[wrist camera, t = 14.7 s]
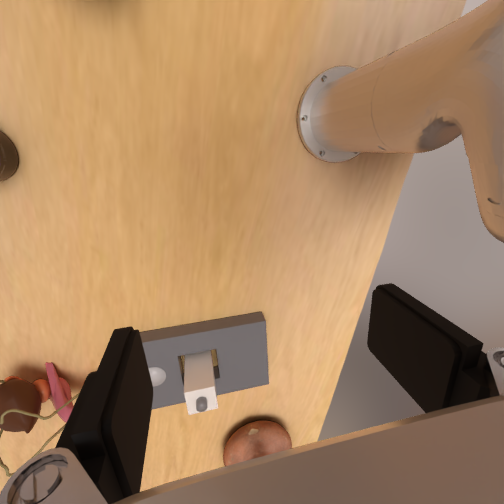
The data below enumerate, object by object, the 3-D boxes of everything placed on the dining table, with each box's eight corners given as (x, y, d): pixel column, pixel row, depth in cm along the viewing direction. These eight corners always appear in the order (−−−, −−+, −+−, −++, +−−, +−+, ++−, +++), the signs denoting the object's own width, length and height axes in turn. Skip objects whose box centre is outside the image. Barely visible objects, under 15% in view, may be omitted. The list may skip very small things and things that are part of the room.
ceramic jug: (216, 418, 57) (224, 498, 44) (283, 400, 59) (310, 471, 46) (228, 474, 63) (238, 559, 50) (288, 456, 66) (313, 532, 53)
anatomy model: (143, 420, 48) (31, 515, 34) (90, 376, 55) (-24, 440, 41) (149, 367, 45) (26, 447, 31) (91, 326, 51) (-33, 377, 37)
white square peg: (209, 342, 50) (215, 392, 40) (212, 362, 52) (218, 414, 42) (184, 347, 49) (183, 399, 39) (188, 367, 51) (188, 422, 41)
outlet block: (261, 311, 50) (265, 321, 47) (264, 372, 55) (268, 384, 52) (120, 335, 46) (115, 348, 43) (137, 398, 51) (134, 413, 48)
